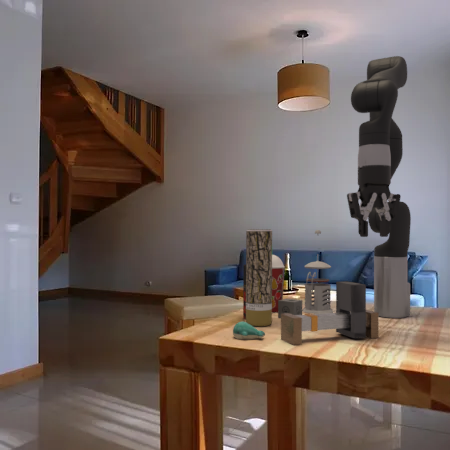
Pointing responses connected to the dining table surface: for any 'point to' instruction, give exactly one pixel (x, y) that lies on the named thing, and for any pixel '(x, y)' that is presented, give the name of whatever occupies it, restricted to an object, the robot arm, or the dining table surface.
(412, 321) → the dining table surface
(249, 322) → the paper tube
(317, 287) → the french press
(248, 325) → the whale figurine
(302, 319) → the grey bar with endplates
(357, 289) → the collar
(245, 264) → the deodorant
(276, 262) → the smoothie
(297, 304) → the grey cube
